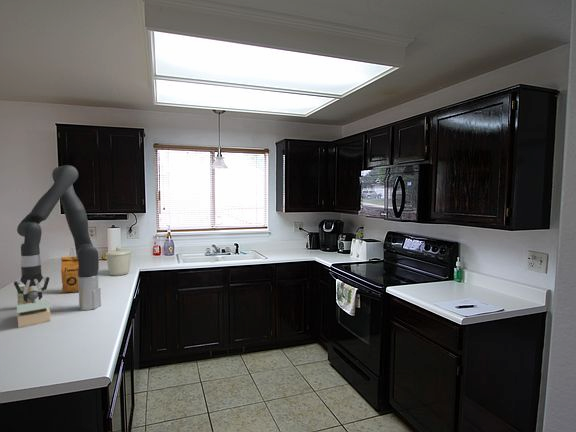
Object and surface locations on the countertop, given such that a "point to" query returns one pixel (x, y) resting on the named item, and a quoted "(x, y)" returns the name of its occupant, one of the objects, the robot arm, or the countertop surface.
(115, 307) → the countertop surface
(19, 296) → the skincare box
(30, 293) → the lid
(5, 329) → the countertop surface
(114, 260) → the canister
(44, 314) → the beige wooden open box
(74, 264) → the coffee package
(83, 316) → the countertop surface
